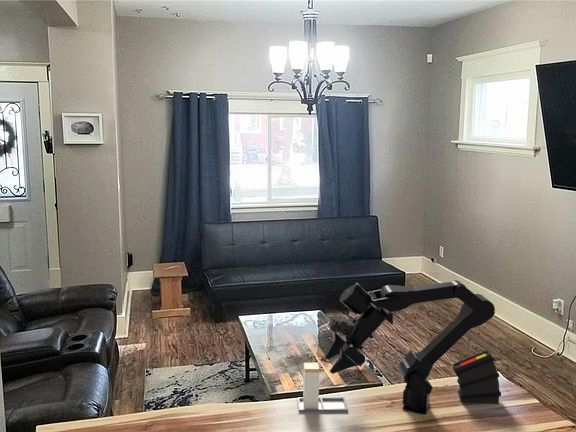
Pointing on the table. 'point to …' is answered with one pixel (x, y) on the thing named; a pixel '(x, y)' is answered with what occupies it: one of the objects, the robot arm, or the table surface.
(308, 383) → the block
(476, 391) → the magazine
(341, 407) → the organiser
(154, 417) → the table surface
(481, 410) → the table surface
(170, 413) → the table surface
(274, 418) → the table surface
